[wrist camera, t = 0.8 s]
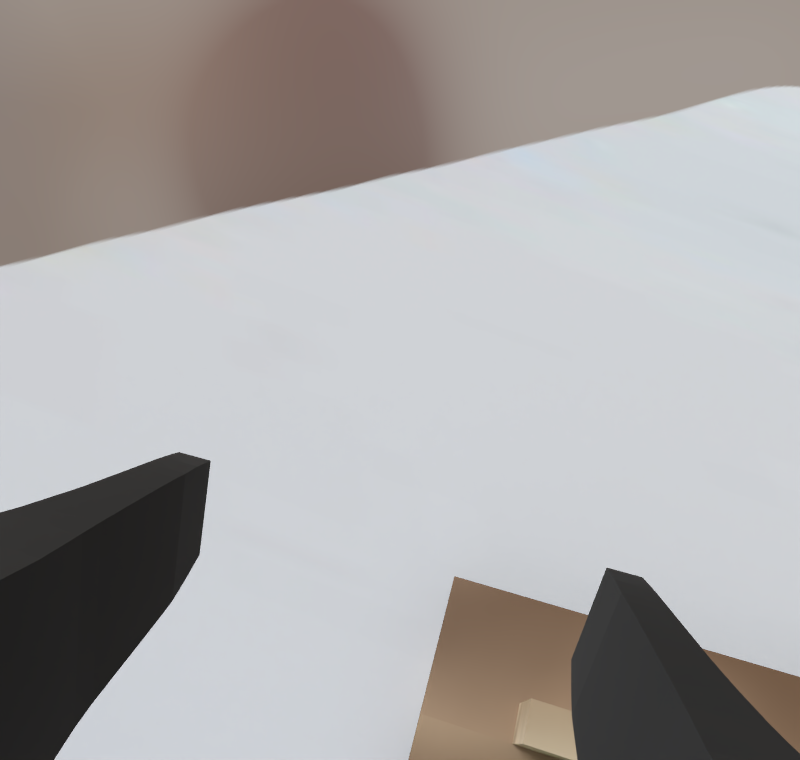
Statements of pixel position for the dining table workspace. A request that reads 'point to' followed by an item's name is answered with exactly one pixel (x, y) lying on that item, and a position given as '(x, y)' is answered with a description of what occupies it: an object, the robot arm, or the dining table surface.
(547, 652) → the deck
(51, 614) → the robot arm
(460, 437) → the dining table surface
